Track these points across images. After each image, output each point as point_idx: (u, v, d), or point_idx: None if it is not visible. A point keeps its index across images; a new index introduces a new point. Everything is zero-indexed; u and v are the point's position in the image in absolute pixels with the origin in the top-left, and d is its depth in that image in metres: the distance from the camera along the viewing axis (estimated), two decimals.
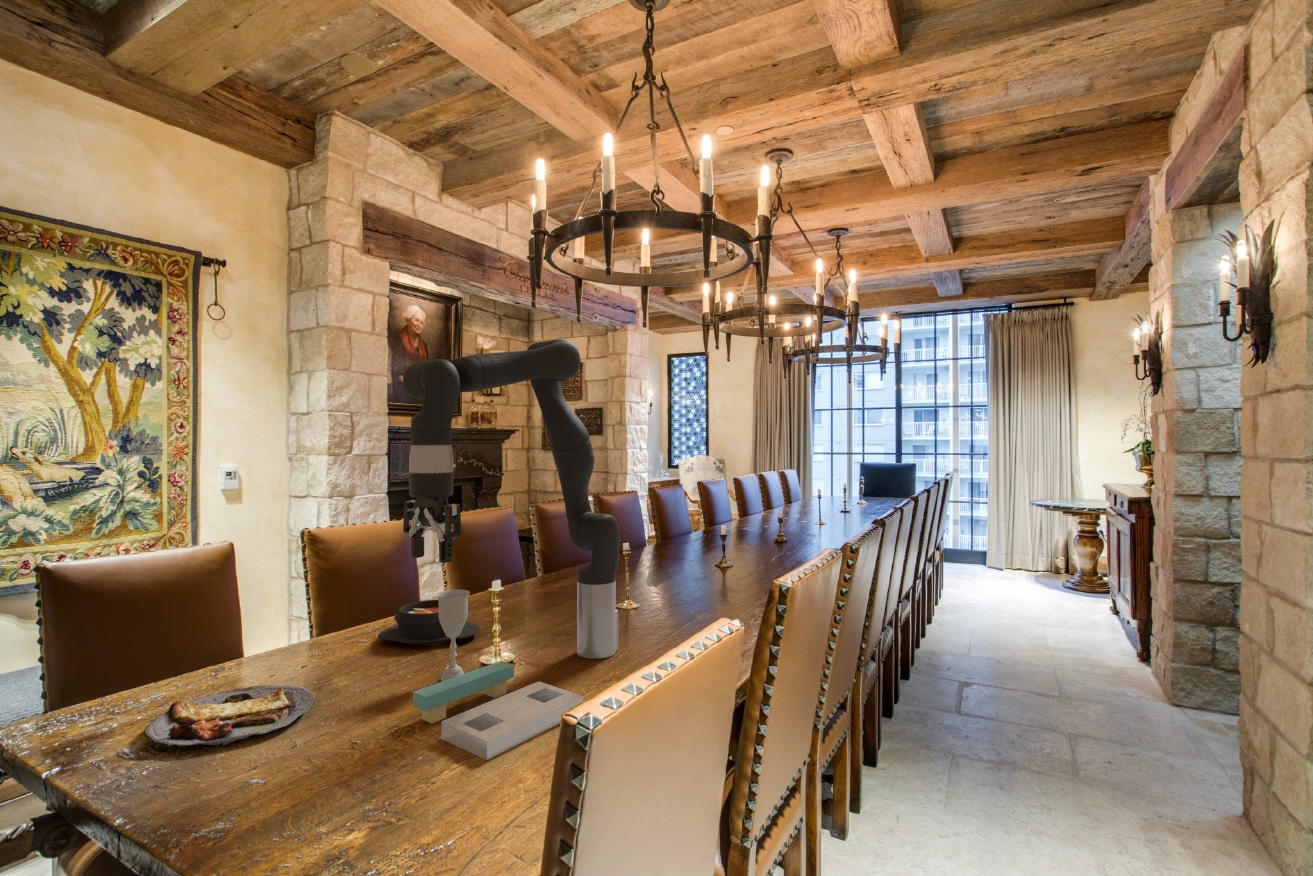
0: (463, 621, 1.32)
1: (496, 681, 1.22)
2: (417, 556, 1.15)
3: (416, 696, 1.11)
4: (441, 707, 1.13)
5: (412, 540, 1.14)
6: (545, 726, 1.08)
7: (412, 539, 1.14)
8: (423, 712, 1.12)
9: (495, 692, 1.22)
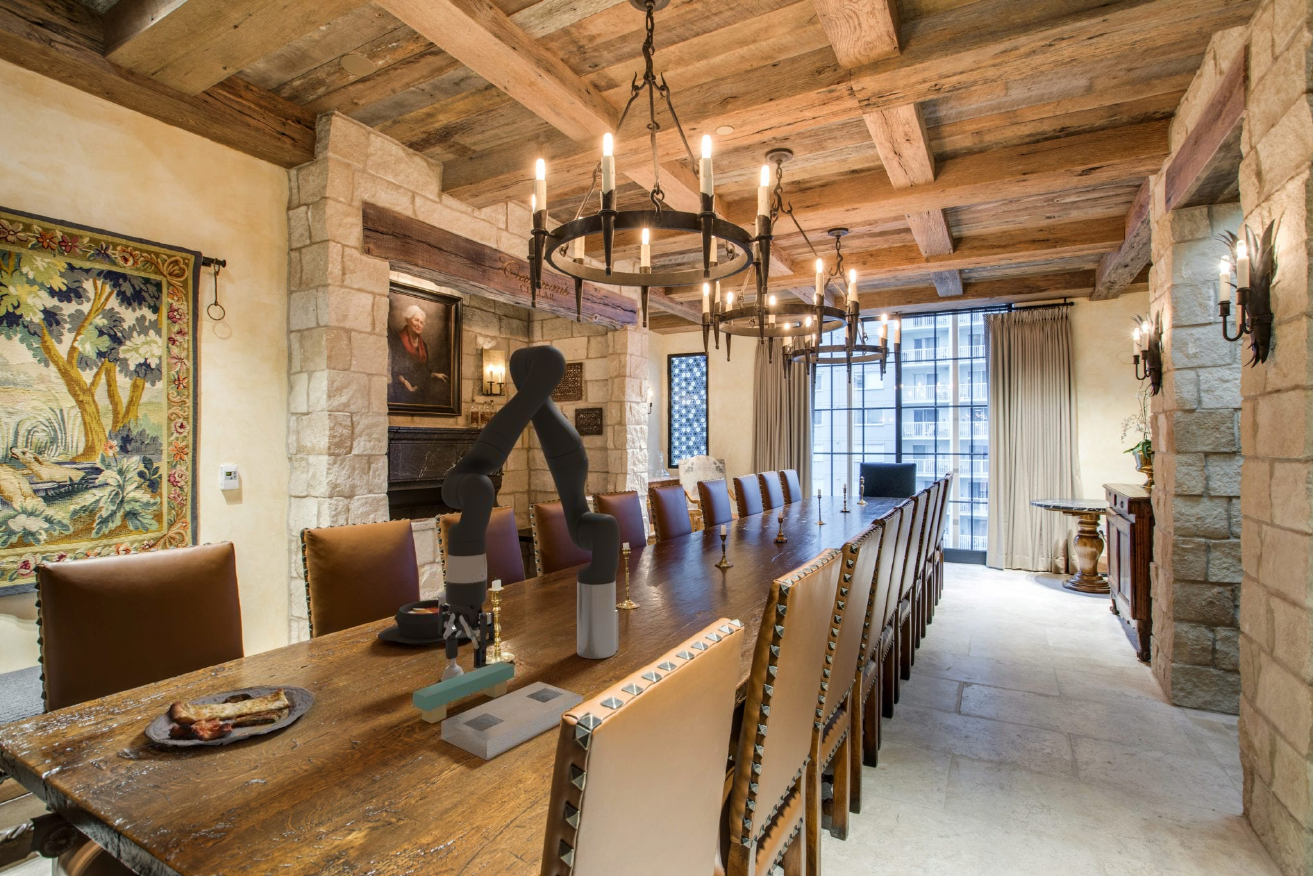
0: None
1: (496, 681, 1.22)
2: (451, 657, 1.21)
3: (416, 696, 1.11)
4: (441, 707, 1.13)
5: (447, 642, 1.20)
6: (545, 726, 1.08)
7: (447, 641, 1.20)
8: (423, 712, 1.12)
9: (495, 692, 1.22)
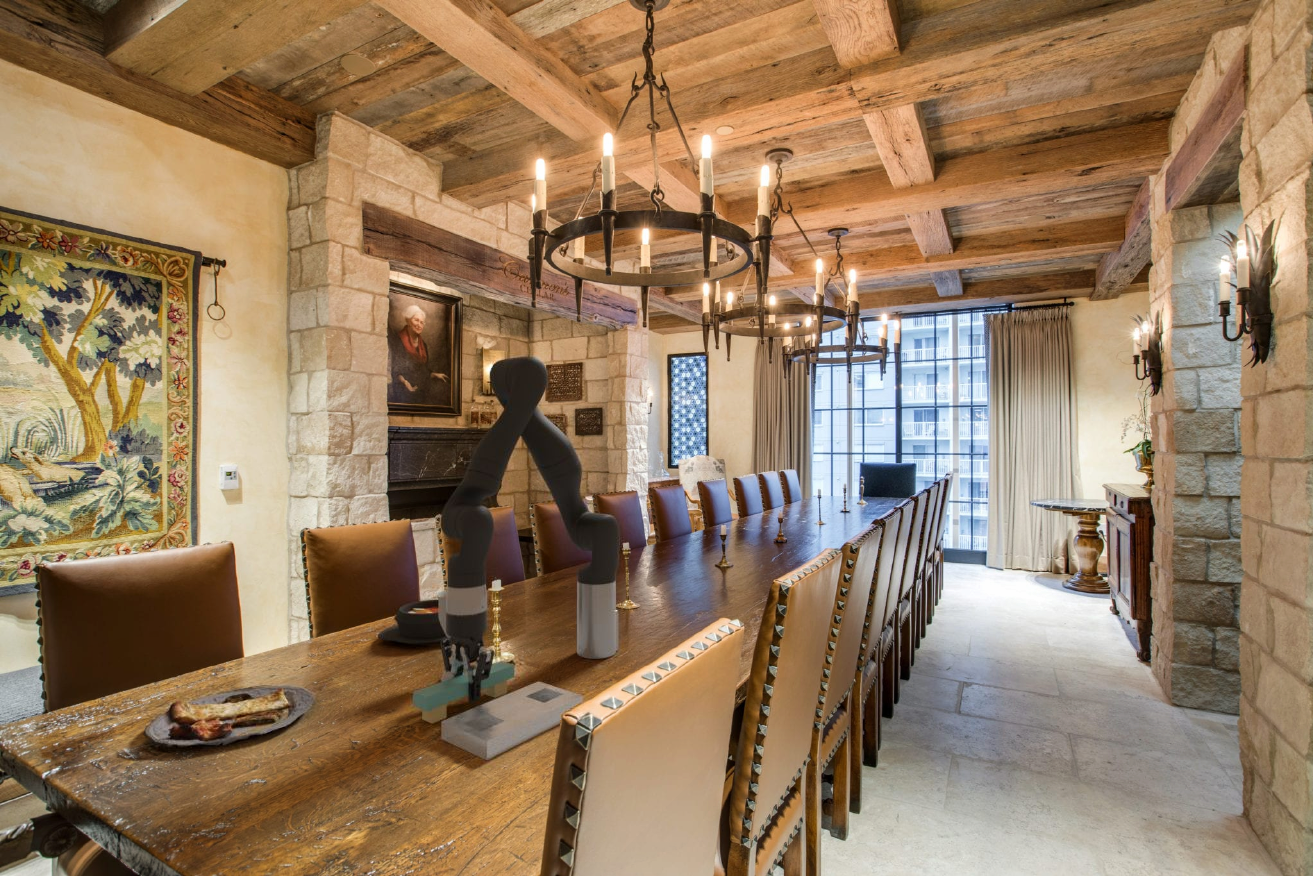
0: None
1: (496, 681, 1.22)
2: None
3: (416, 696, 1.11)
4: (441, 707, 1.13)
5: None
6: (545, 726, 1.08)
7: None
8: (423, 712, 1.12)
9: (495, 692, 1.22)
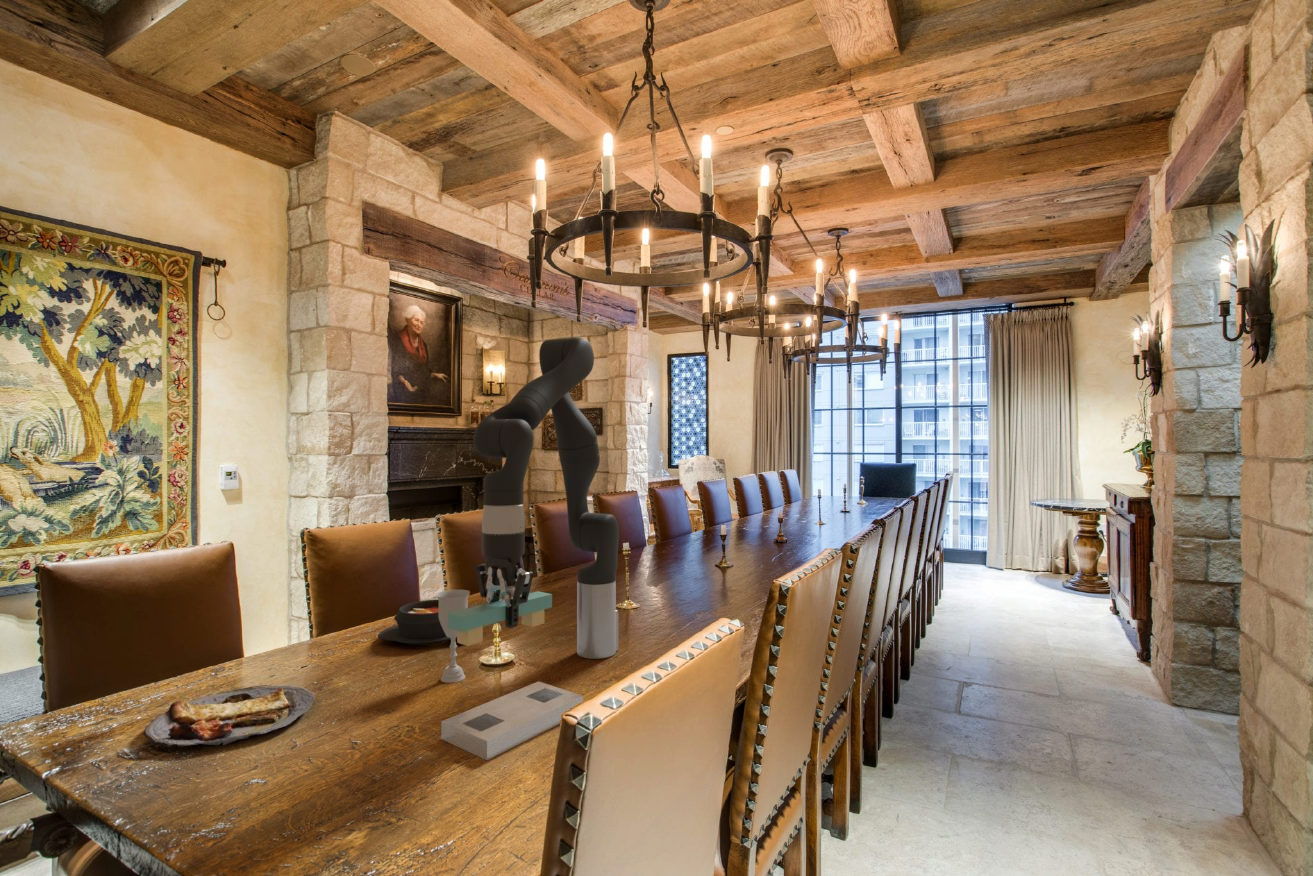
0: None
1: (534, 609, 1.15)
2: None
3: (451, 617, 1.05)
4: (477, 630, 1.06)
5: None
6: (545, 726, 1.08)
7: None
8: (458, 635, 1.06)
9: (533, 621, 1.16)
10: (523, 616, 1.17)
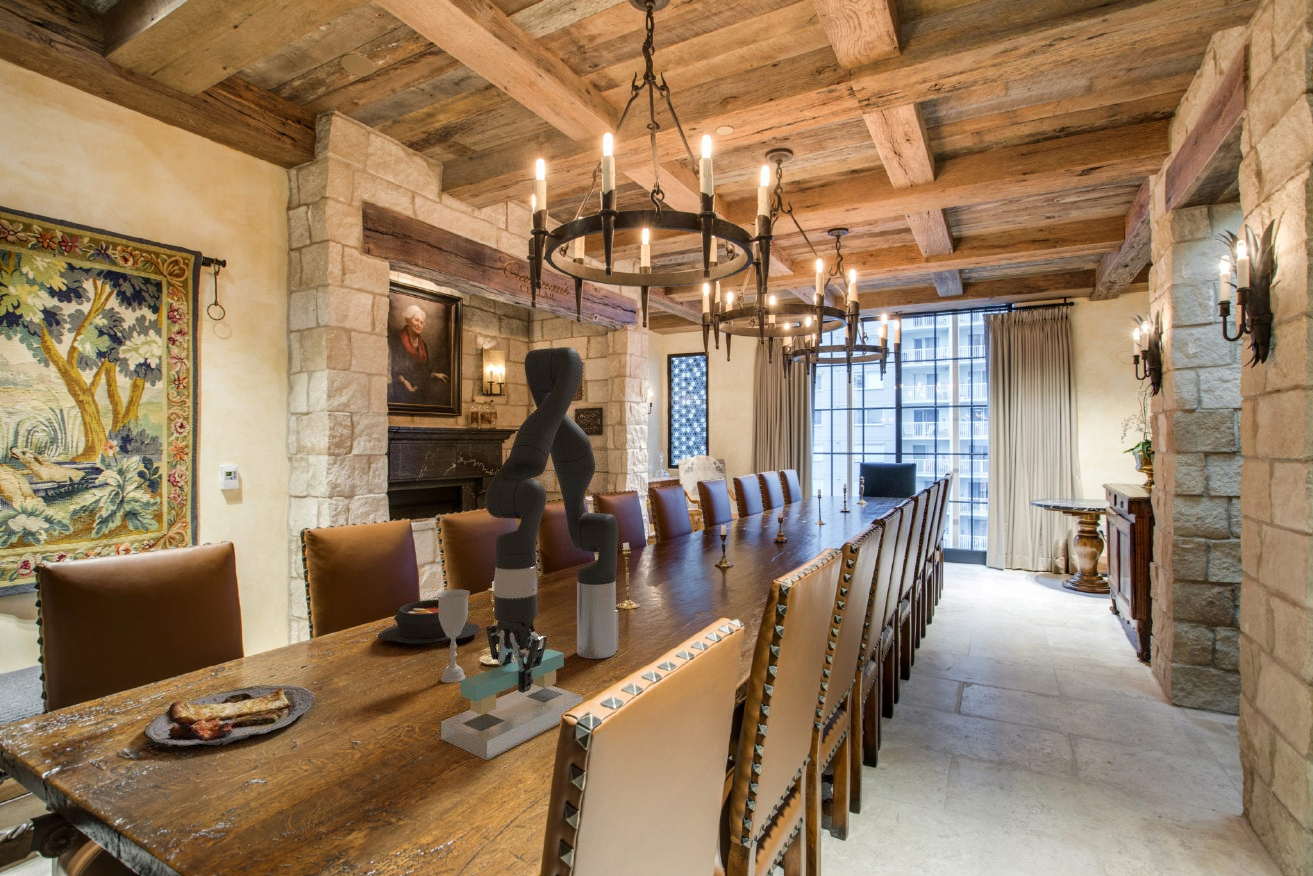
0: (463, 621, 1.32)
1: (546, 670, 1.14)
2: None
3: (464, 685, 1.03)
4: (491, 697, 1.04)
5: None
6: (545, 726, 1.08)
7: None
8: (471, 702, 1.04)
9: (545, 682, 1.14)
10: None
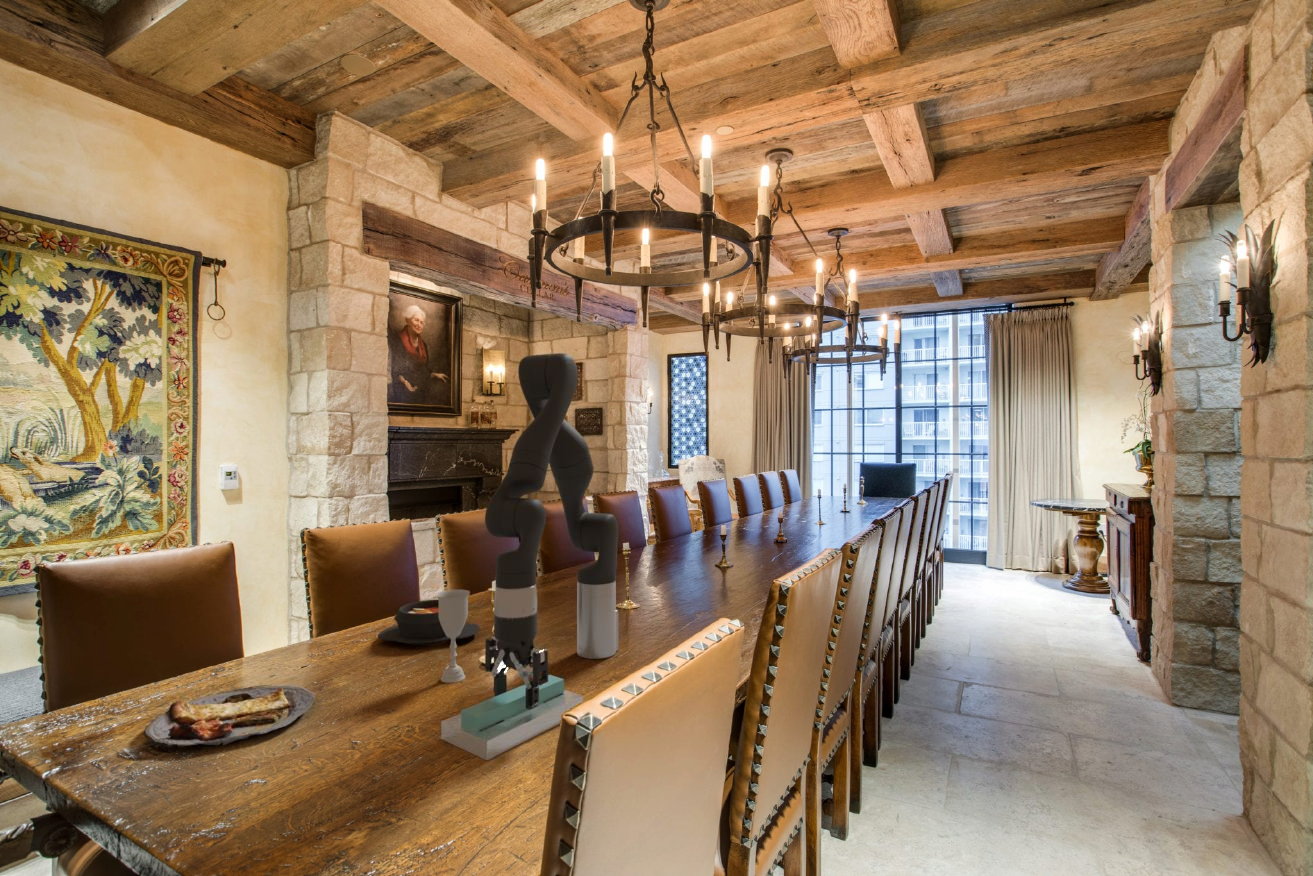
0: (463, 621, 1.32)
1: (546, 697, 1.14)
2: None
3: (465, 715, 1.03)
4: None
5: (495, 680, 1.12)
6: (545, 726, 1.08)
7: (495, 679, 1.12)
8: None
9: None
10: None
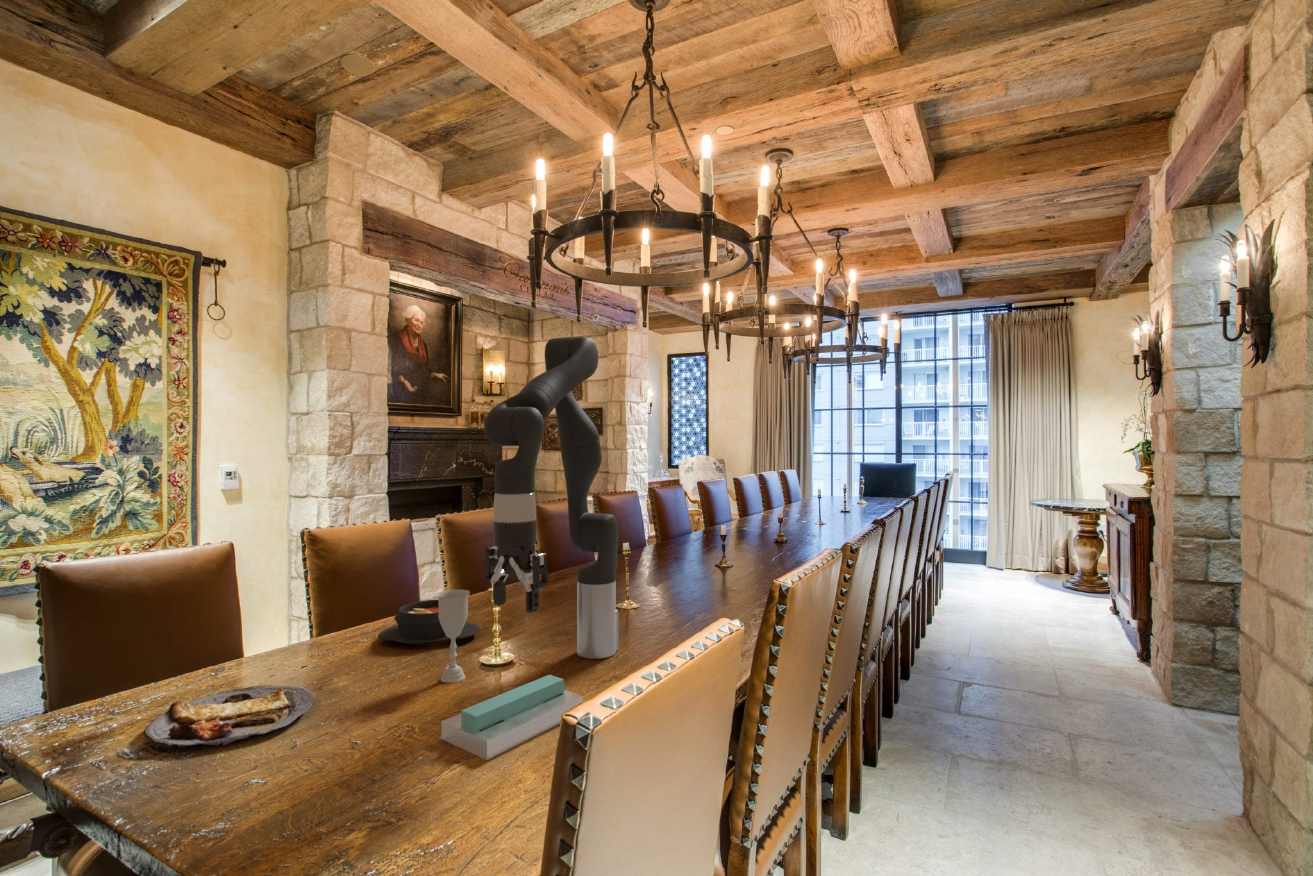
0: (463, 621, 1.32)
1: (546, 697, 1.14)
2: (499, 604, 1.14)
3: (465, 715, 1.03)
4: None
5: (494, 588, 1.13)
6: (545, 726, 1.08)
7: (494, 587, 1.13)
8: None
9: None
10: None
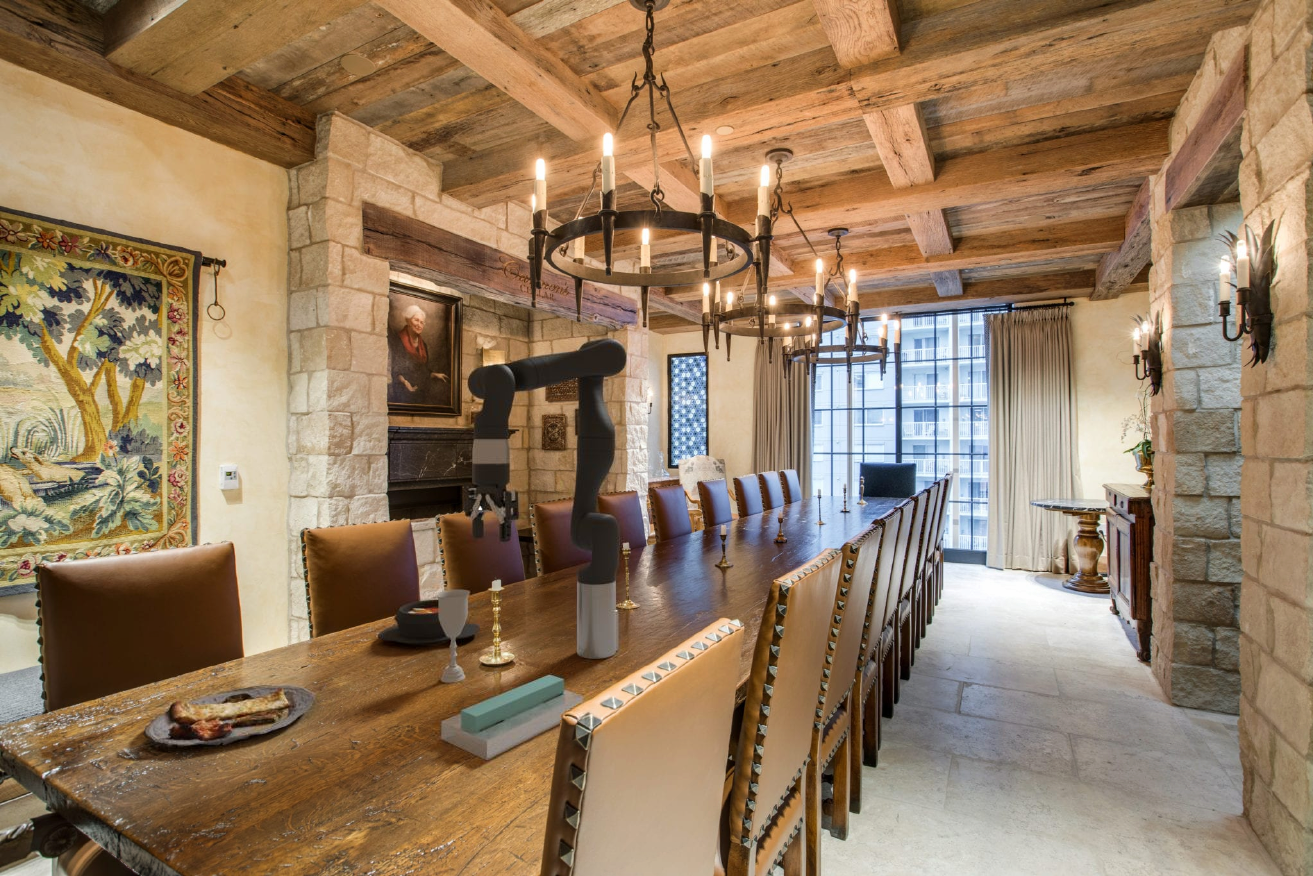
0: (463, 621, 1.32)
1: (546, 697, 1.14)
2: (478, 537, 1.31)
3: (465, 715, 1.03)
4: None
5: (473, 523, 1.30)
6: (545, 726, 1.08)
7: (473, 522, 1.30)
8: None
9: None
10: None
